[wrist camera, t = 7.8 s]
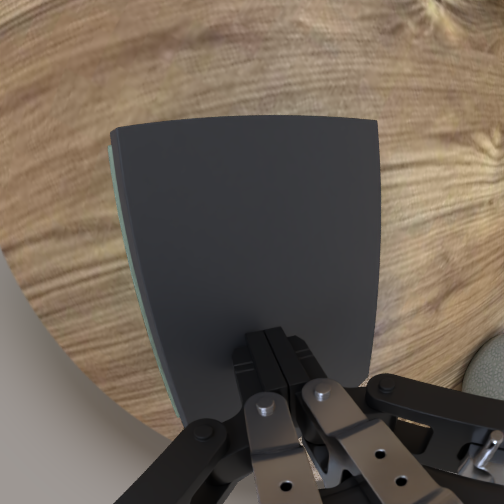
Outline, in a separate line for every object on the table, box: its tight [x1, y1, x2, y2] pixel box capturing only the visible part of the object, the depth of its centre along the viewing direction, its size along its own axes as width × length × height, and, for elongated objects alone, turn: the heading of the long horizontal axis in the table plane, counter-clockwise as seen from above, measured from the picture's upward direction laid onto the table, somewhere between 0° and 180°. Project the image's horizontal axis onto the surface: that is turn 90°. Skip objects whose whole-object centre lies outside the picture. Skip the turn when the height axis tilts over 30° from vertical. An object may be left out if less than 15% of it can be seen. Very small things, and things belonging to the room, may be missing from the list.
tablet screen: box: [110, 115, 381, 482], centre depth 15 cm, size 14×18×1 cm
